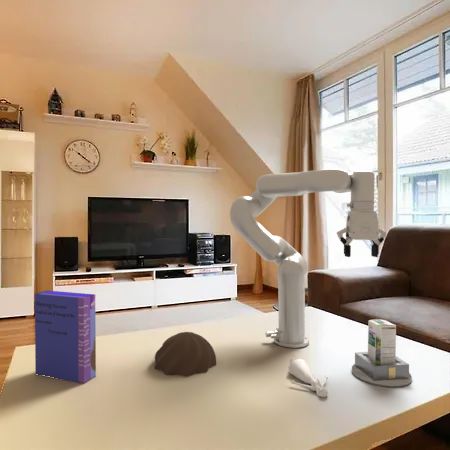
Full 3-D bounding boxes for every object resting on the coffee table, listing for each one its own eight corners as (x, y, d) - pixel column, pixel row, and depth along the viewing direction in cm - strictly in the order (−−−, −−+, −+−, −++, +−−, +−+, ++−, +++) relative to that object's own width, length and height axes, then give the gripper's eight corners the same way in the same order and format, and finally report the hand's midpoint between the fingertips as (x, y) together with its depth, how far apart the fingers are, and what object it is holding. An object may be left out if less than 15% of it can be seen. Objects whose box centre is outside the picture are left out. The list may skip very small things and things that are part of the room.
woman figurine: (311, 353, 109) (346, 383, 92) (311, 367, 109) (345, 400, 92) (276, 357, 106) (304, 389, 89) (276, 371, 106) (304, 406, 89)
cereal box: (95, 376, 103) (95, 293, 103) (84, 383, 98) (83, 297, 98) (48, 368, 109) (47, 289, 108) (35, 374, 104) (34, 292, 104)
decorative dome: (227, 359, 116) (227, 328, 116) (191, 383, 99) (191, 347, 99) (180, 348, 126) (180, 320, 126) (140, 368, 109) (140, 335, 109)
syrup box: (366, 367, 107) (367, 319, 107) (385, 366, 108) (385, 318, 107) (377, 376, 101) (377, 325, 101) (396, 375, 102) (396, 324, 102)
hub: (369, 389, 95) (370, 371, 95) (342, 365, 111) (342, 349, 111) (424, 385, 97) (424, 367, 97) (389, 362, 113) (389, 347, 113)
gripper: (342, 206, 118) (341, 257, 119) (392, 207, 120) (391, 258, 120) (333, 206, 126) (332, 255, 126) (380, 207, 127) (379, 255, 128)
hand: (361, 256), depth 123 cm, fingers open, 9 cm apart
